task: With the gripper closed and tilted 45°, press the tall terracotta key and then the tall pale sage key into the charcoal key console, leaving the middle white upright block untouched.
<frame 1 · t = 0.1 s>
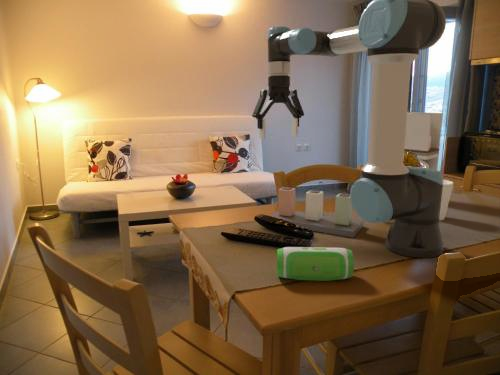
hand: (278, 137, 143), 28 cm above the table, tool pointing down, fingers open, 13 cm apart
white upright block: (314, 204, 133), point 7 cm above the table, slide at 0.0 cm
foam cup: (434, 218, 141), on the table
terracotta key: (286, 201, 138), point 7 cm above the table, slide at 0.0 cm
key console: (313, 224, 135), on the table
sage key: (343, 208, 129), point 7 cm above the table, slide at 0.0 cm
speaker: (313, 278, 97), on the table
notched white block: (414, 199, 166), on the table
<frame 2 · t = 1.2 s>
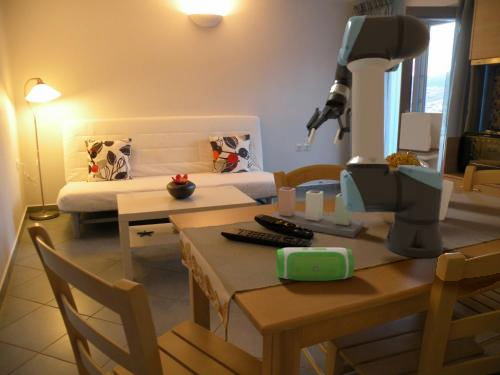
hand: (322, 145, 145), 25 cm above the table, tool tilted 45°, fingers open, 9 cm apart
nothing on the table moved.
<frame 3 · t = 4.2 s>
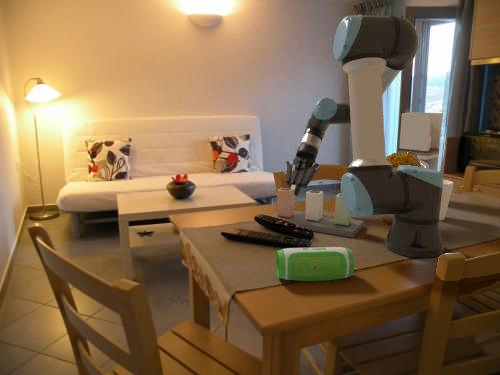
hand: (289, 202, 140), 6 cm above the table, tool tilted 45°, fingers closed
terracotta key: (285, 201, 137), point 7 cm above the table, slide at 1.0 cm, touching gripper
everything else where it was.
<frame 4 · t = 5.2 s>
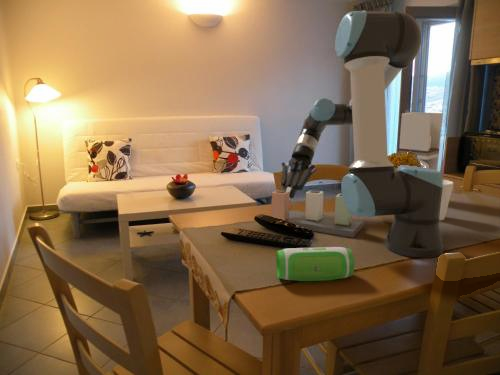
hand: (284, 204, 137), 6 cm above the table, tool tilted 45°, fingers closed
terracotta key: (280, 204, 134), point 7 cm above the table, slide at 4.9 cm, touching gripper
everything else where it was.
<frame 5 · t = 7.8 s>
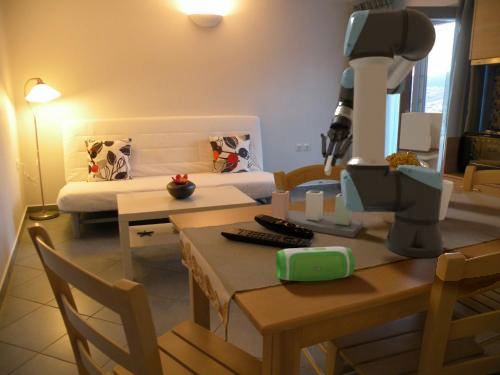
hand: (326, 172, 141), 16 cm above the table, tool tilted 45°, fingers closed
terracotta key: (280, 204, 134), point 7 cm above the table, slide at 5.0 cm
everything else where it was.
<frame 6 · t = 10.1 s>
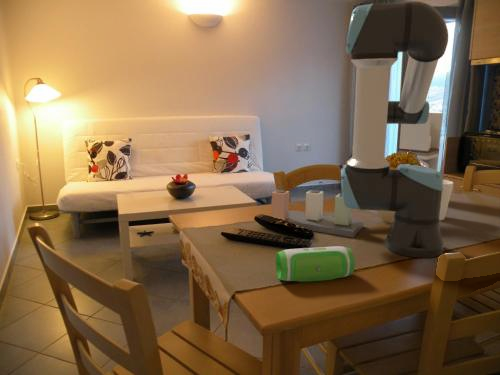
hand: (346, 209, 131), 6 cm above the table, tool tilted 45°, fingers closed
sage key: (343, 209, 128), point 7 cm above the table, slide at 0.3 cm, touching gripper
everything else where it was.
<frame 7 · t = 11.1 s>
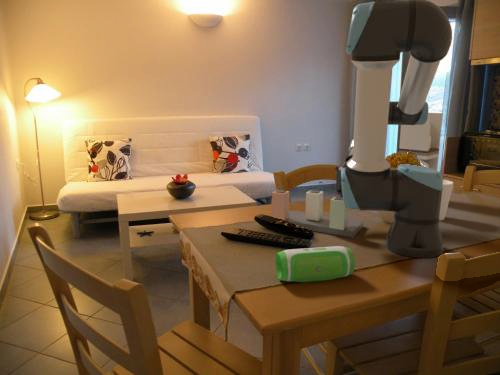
hand: (342, 212, 127), 6 cm above the table, tool tilted 45°, fingers closed
sage key: (339, 212, 124), point 7 cm above the table, slide at 4.9 cm, touching gripper
everything else where it was.
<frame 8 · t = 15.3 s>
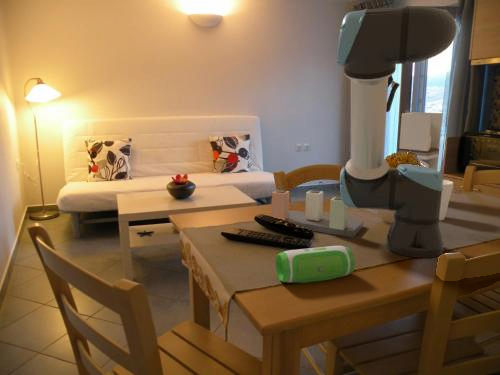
hand: (376, 132, 140), 29 cm above the table, tool pointing down, fingers closed
sage key: (339, 212, 124), point 7 cm above the table, slide at 5.0 cm
at the end: terracotta key slide at 5.0 cm; sage key slide at 5.0 cm; white upright block slide at 0.0 cm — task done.
